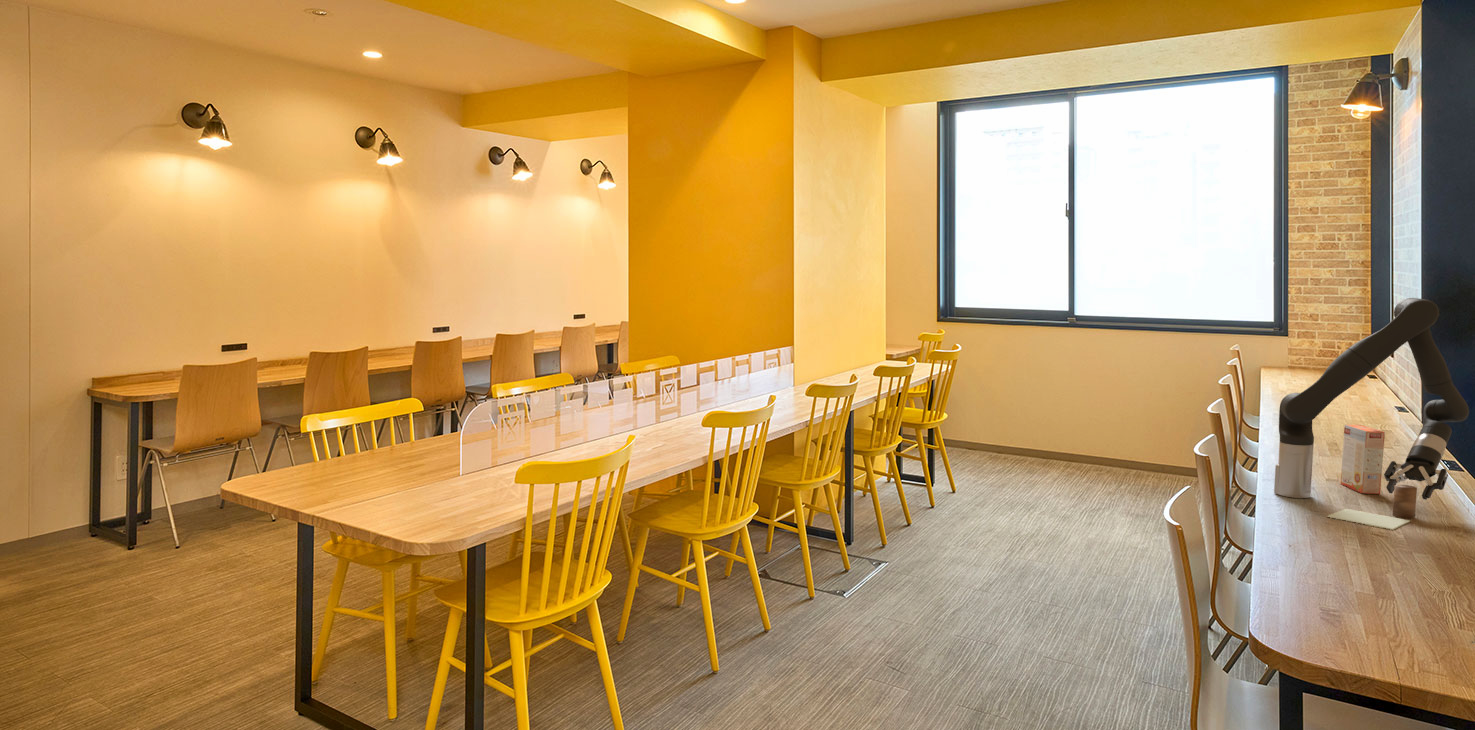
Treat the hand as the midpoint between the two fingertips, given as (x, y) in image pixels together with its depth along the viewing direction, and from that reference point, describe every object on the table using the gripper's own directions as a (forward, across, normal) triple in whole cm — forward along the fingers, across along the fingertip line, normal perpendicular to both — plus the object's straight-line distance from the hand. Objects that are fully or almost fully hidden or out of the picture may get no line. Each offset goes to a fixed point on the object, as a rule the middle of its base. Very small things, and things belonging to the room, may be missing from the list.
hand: (1406, 494), depth 250 cm
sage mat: (+14, -4, -5) cm, 15 cm away
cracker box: (-13, -22, +23) cm, 34 cm away
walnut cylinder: (+5, 0, +4) cm, 7 cm away
